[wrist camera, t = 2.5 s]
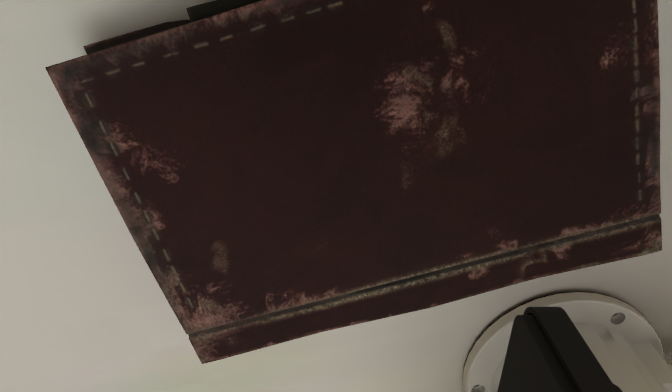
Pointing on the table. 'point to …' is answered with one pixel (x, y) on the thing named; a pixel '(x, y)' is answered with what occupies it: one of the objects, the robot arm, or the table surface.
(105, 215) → the table surface
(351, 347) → the table surface
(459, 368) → the table surface
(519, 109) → the diary
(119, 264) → the table surface
